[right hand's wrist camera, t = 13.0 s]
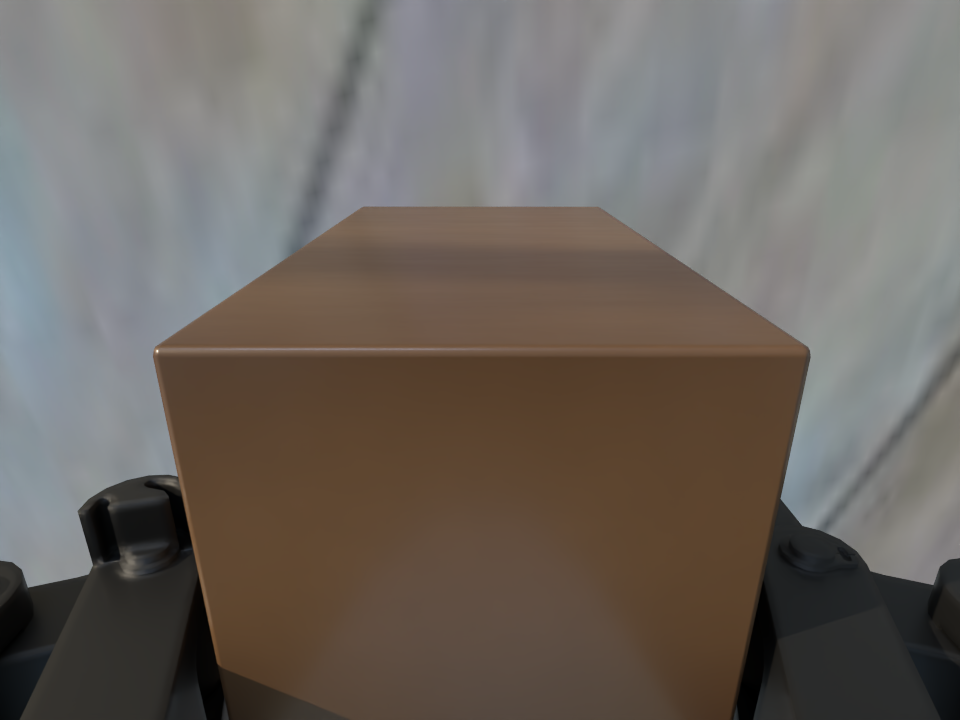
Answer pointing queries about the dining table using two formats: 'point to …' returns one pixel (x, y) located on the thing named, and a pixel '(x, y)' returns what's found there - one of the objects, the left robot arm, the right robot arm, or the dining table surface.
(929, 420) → the dining table surface
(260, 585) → the bar
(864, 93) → the dining table surface
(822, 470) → the dining table surface
